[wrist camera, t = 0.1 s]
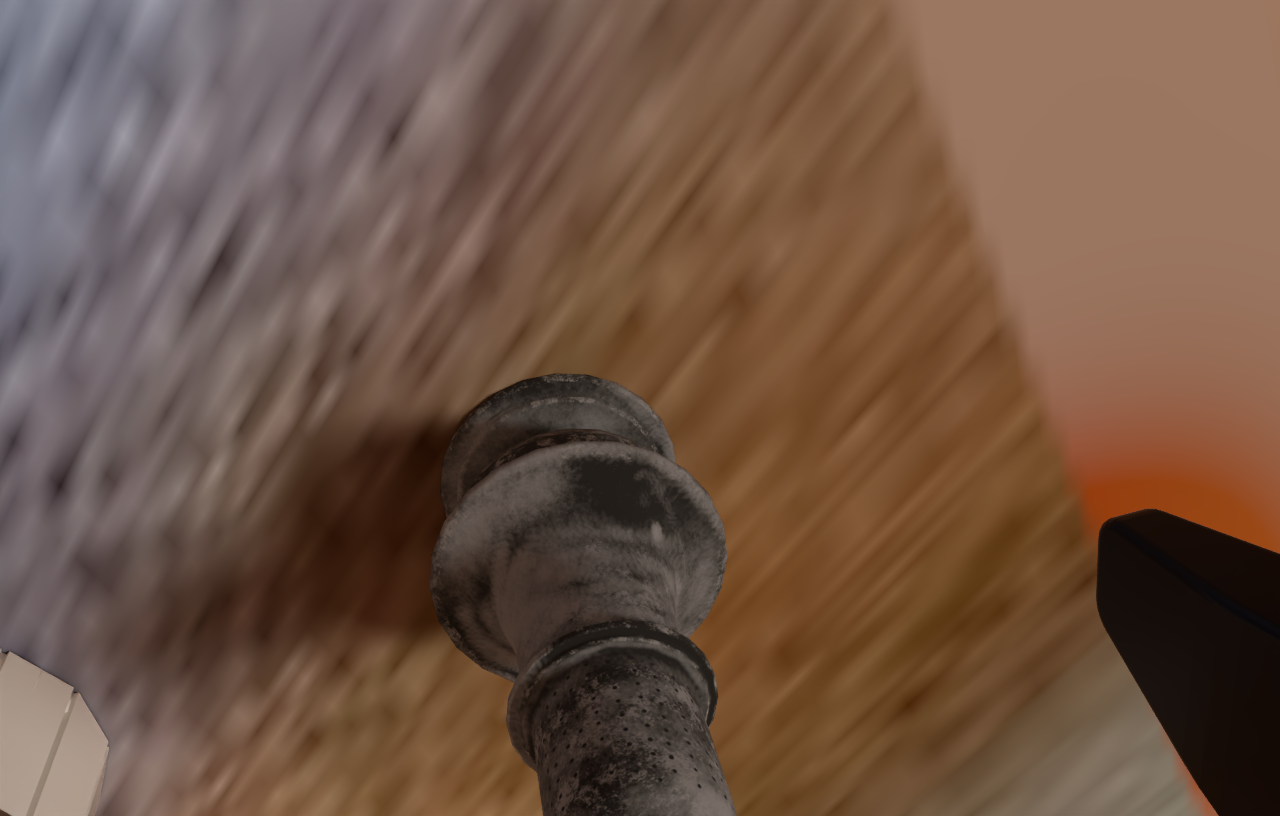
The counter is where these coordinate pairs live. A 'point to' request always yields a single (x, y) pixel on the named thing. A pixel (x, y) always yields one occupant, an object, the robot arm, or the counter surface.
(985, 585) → the counter surface
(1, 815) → the beige rounded cylinder
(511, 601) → the salt shaker
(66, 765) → the bowl
